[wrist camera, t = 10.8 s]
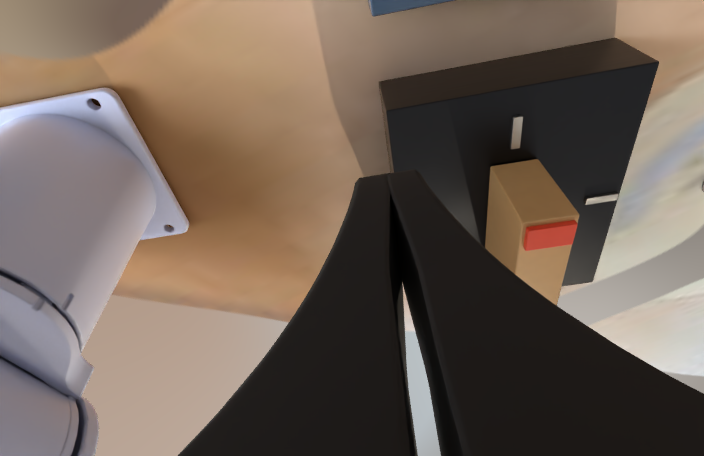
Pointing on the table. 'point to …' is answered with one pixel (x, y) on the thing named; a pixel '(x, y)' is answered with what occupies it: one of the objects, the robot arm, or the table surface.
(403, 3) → the button box
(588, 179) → the control panel
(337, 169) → the table surface
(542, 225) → the tan rectangular block
